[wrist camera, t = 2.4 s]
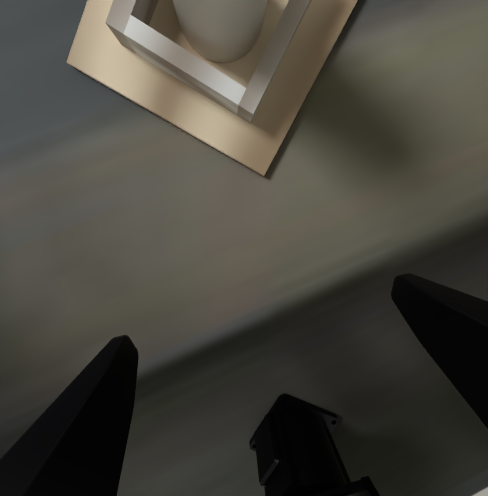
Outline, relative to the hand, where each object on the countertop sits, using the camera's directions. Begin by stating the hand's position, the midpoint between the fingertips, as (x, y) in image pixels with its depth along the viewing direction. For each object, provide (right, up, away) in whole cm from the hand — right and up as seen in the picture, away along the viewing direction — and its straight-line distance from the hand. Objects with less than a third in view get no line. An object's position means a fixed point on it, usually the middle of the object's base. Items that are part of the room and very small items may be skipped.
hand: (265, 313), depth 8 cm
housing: (-2, +17, +7) cm, 18 cm away
